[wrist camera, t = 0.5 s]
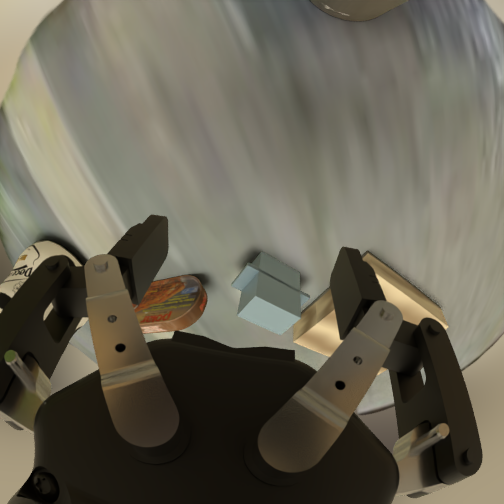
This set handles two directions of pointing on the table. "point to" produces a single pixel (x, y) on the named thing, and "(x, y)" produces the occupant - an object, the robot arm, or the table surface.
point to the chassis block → (396, 292)
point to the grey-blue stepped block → (270, 294)
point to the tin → (171, 304)
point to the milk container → (27, 266)
